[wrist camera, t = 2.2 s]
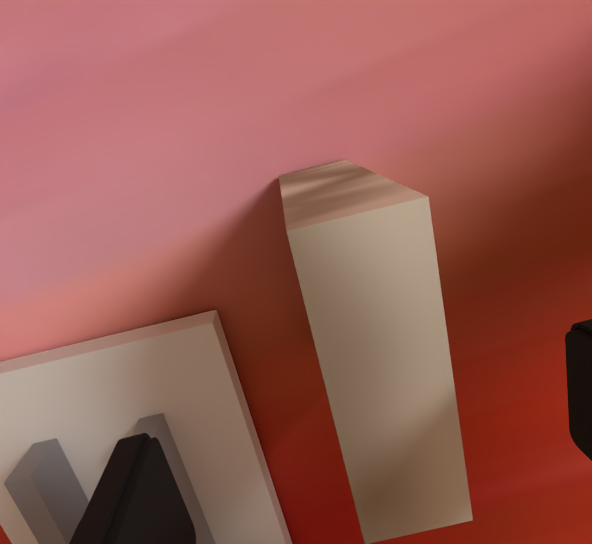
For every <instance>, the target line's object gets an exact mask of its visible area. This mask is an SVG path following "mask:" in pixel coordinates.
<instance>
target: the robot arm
mask: <svg viewBox="0 0 592 544" xmlns="http://www.w3.org/2000/svg"><path fill="white" fill-rule="evenodd" d="M565 344H566V366H567V387H568V409H569V429H570V434H571V437H572V439H573V441H574V443H575V444H576V445H577V447H578V448H579V449H580V450H581V451H582V452H583V453H584V454H585V455H586V456H587V457H588V458H589V459H590V460H592V319H590V320H586V321H582V322H578V323H575V324H574V325H572V327H571V331H570V332H568V333H567V334H566V337H565ZM69 544H196V532H195V528H194V525H193V522H192V520H191V517H190V515H189V512H188V510H187V508H186V505H185V503H184V500H183V498H182V495H181V493H180V490H179V488H178V486H177V483H176V481H175V478H174V476H173V473H172V471H171V468H170V466H169V464H168V461H167V459H166V456H165V454H164V451H163V449H162V447H161V444H160V442H159V440H158V439H157V438H156V437H153V438H150V436H149V435H148V434H147V433H142V434H138V435H134V436H130V437H126V438H122V439H120V440H118V442H117V443H116V446H115V448H114V450H113V452H112V454H111V456H110V458H109V461H108V463H107V465H106V467H105V469H104V471H103V474H102V476H101V478H100V480H99V482H98V484H97V487H96V489H95V491H94V493H93V495H92V497H91V499H90V502H89V504H88V506H87V508H86V510H85V512H84V515H83V517H82V519H81V520H80V522H79V524H78V526H77V528H76V530H75V532H74V534H73V536H72V539H71V541H70V543H69Z"/></svg>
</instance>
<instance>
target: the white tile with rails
mask: <svg viewBox="0 0 592 544" xmlns="http://www.w3.org/2000/svg"><path fill="white" fill-rule="evenodd" d="M142 433H147V434H148V435H149V436H150V438H153V437H156V438H157V439H158V440H159V442H160V444H161V447H162V449H163V451H164V454H165V456H166V459H167V461H168V464H169V466H170V468H171V471H172V473H173V476H174V478H175V481H176V483H177V486H178V488H179V490H180V493H181V495H182V498H183V500H184V503H185V505H186V508H187V510H188V512H189V515H190V517H191V520H192V522H193V525H194V528H195V532H196V544H292V541H291V538H290V535H289V532H288V529H287V525H286V522H285V519H284V516H283V513H282V510H281V507H280V504H279V501H278V498H277V495H276V491H275V488H274V485H273V482H272V479H271V476H270V473H269V470H268V467H267V464H266V461H265V458H264V454H263V451H262V448H261V445H260V442H259V439H258V436H257V433H256V430H255V427H254V424H253V420H252V417H251V414H250V411H249V408H248V405H247V402H246V399H245V396H244V393H243V390H242V387H241V383H240V380H239V377H238V374H237V371H236V368H235V365H234V362H233V359H232V356H231V353H230V349H229V346H228V343H227V340H226V337H225V334H224V331H223V328H222V325H221V322H220V319H219V316H218V312H217V310H213V311H209V312H204V313H200V314H196V315H192V316H188V317H184V318H180V319H175V320H171V321H167V322H163V323H159V324H155V325H151V326H146V327H142V328H138V329H134V330H130V331H126V332H122V333H117V334H113V335H109V336H105V337H101V338H97V339H93V340H89V341H84V342H80V343H76V344H72V345H68V346H64V347H60V348H55V349H51V350H47V351H43V352H39V353H35V354H31V355H26V356H22V357H18V358H14V359H10V360H6V361H2V362H0V525H1V527H2V528H3V530H4V532H5V533H6V535H7V537H8V538H9V540H10V541H11V543H12V544H69V543H70V541H71V539H72V536H73V534H74V532H75V530H76V528H77V526H78V524H79V522H80V520H81V519H82V517H83V515H84V512H85V510H86V508H87V506H88V504H89V502H90V499H91V497H92V495H93V493H94V491H95V489H96V487H97V484H98V482H99V480H100V478H101V476H102V474H103V471H104V469H105V467H106V465H107V463H108V461H109V458H110V456H111V454H112V452H113V450H114V448H115V446H116V443H117V442H118V440H120V439H122V438H126V437H130V436H134V435H138V434H142Z"/></svg>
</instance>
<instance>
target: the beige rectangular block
mask: <svg viewBox="0 0 592 544" xmlns="http://www.w3.org/2000/svg"><path fill="white" fill-rule="evenodd" d="M279 182H280V189H281V196H282V204H283V211H284V218H285V225H286V232H287V236H288V240H289V244H290V248H291V252H292V256H293V260H294V264H295V268H296V272H297V276H298V280H299V284H300V288H301V292H302V296H303V300H304V304H305V308H306V312H307V316H308V320H309V324H310V328H311V332H312V336H313V340H314V343H315V347H316V351H317V355H318V359H319V363H320V367H321V371H322V375H323V379H324V383H325V387H326V391H327V395H328V399H329V403H330V407H331V411H332V415H333V419H334V423H335V427H336V431H337V435H338V439H339V443H340V447H341V451H342V455H343V459H344V463H345V467H346V471H347V475H348V479H349V483H350V487H351V491H352V495H353V499H354V503H355V507H356V511H357V515H358V519H359V523H360V527H361V531H362V535H363V539H364V543H365V544H370V543H374V542H379V541H383V540H388V539H392V538H397V537H401V536H405V535H410V534H414V533H419V532H423V531H428V530H432V529H436V528H441V527H445V526H450V525H454V524H459V523H463V522H467V521H472V520H473V517H472V510H471V503H470V495H469V488H468V481H467V474H466V466H465V459H464V452H463V445H462V437H461V430H460V423H459V415H458V408H457V401H456V394H455V386H454V379H453V372H452V365H451V357H450V350H449V343H448V336H447V328H446V321H445V314H444V306H443V299H442V292H441V285H440V277H439V270H438V263H437V256H436V248H435V241H434V234H433V226H432V219H431V212H430V205H429V197H428V196H426V195H424V194H422V193H419V192H417V191H415V190H413V189H410V188H408V187H406V186H403V185H401V184H399V183H397V182H394V181H392V180H390V179H388V178H385V177H383V176H381V175H378V174H376V173H374V172H372V171H369V170H367V169H365V168H363V167H360V166H358V165H356V164H353V163H351V162H349V161H347V160H340V161H336V162H332V163H327V164H323V165H319V166H315V167H311V168H307V169H303V170H299V171H295V172H291V173H287V174H283V175H279Z"/></svg>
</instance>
